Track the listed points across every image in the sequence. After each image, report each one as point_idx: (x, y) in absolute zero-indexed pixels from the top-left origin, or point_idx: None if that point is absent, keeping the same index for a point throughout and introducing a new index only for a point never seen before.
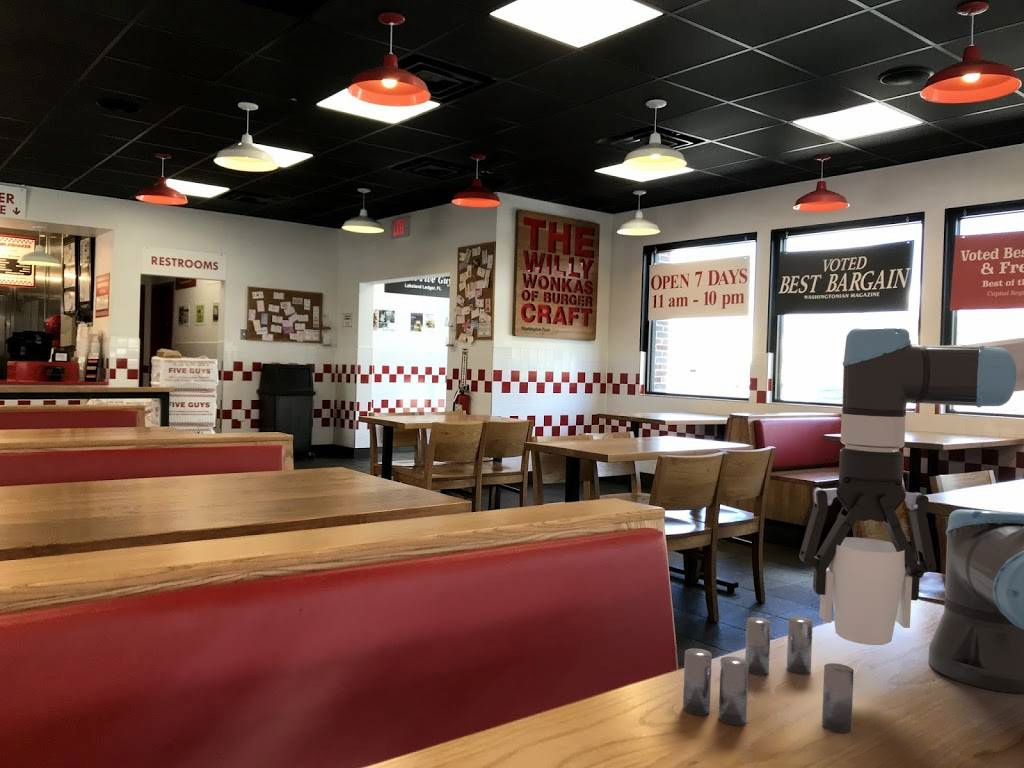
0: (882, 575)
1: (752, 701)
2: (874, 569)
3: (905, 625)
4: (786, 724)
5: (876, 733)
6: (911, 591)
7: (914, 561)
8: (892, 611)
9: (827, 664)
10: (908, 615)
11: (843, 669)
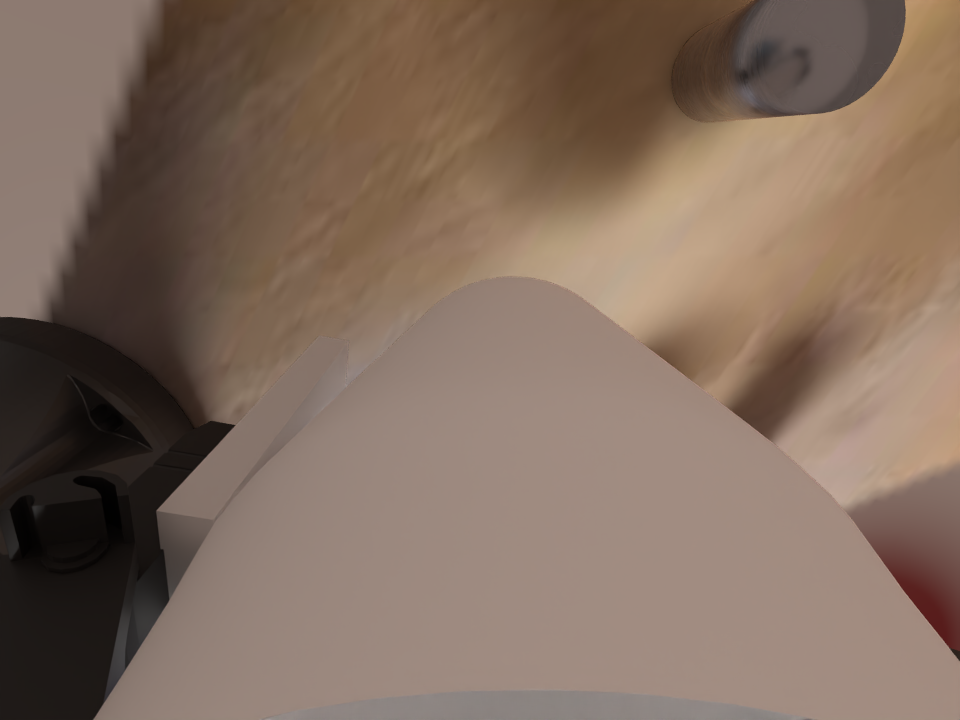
0: (568, 386)
1: (863, 270)
2: (681, 450)
3: (337, 342)
4: (868, 98)
5: (607, 27)
6: (225, 437)
7: (3, 657)
8: (425, 322)
9: (852, 96)
10: (305, 363)
11: (817, 25)
